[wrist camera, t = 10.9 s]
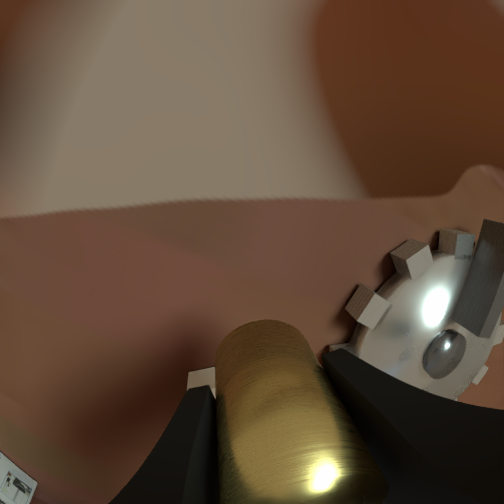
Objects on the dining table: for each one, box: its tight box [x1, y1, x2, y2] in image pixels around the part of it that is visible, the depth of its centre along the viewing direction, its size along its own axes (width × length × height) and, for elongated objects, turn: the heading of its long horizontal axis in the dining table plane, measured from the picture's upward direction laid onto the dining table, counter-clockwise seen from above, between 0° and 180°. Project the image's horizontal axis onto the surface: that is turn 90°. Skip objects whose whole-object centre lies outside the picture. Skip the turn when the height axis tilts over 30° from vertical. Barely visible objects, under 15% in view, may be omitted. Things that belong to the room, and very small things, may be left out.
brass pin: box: [215, 320, 389, 504], centre depth 7 cm, size 3×3×6 cm
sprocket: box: [329, 219, 504, 401], centre depth 17 cm, size 16×18×5 cm
